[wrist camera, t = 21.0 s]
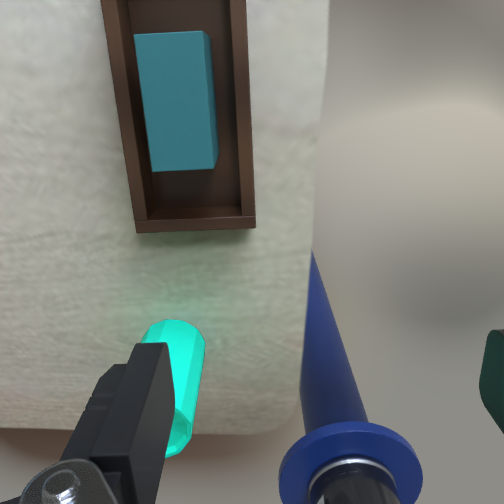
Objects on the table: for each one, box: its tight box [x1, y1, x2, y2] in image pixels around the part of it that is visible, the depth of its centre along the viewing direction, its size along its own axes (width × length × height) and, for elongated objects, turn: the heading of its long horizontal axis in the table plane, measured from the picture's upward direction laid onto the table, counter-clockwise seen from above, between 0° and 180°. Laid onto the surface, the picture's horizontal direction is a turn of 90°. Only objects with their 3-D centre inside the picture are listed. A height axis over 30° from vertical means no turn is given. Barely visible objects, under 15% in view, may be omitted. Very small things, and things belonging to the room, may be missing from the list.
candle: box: [141, 319, 205, 458], centre depth 37 cm, size 6×6×12 cm
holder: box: [101, 0, 256, 233], centre depth 32 cm, size 18×9×4 cm, turn 3°
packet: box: [134, 31, 220, 172], centre depth 30 cm, size 4×8×6 cm, turn 3°
